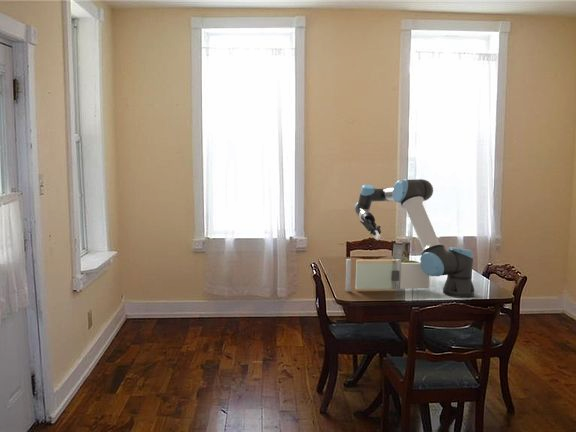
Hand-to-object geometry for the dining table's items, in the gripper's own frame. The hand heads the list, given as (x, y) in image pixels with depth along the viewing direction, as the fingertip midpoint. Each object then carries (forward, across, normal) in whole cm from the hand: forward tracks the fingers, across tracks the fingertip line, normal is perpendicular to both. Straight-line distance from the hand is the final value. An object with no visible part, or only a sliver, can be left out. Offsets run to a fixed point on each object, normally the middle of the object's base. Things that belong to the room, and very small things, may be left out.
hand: (378, 238), depth 308 cm
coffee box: (-16, -33, -18) cm, 41 cm away
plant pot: (+3, -29, -12) cm, 32 cm away
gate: (+27, +1, -16) cm, 32 cm away
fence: (+28, -5, -14) cm, 32 cm away
